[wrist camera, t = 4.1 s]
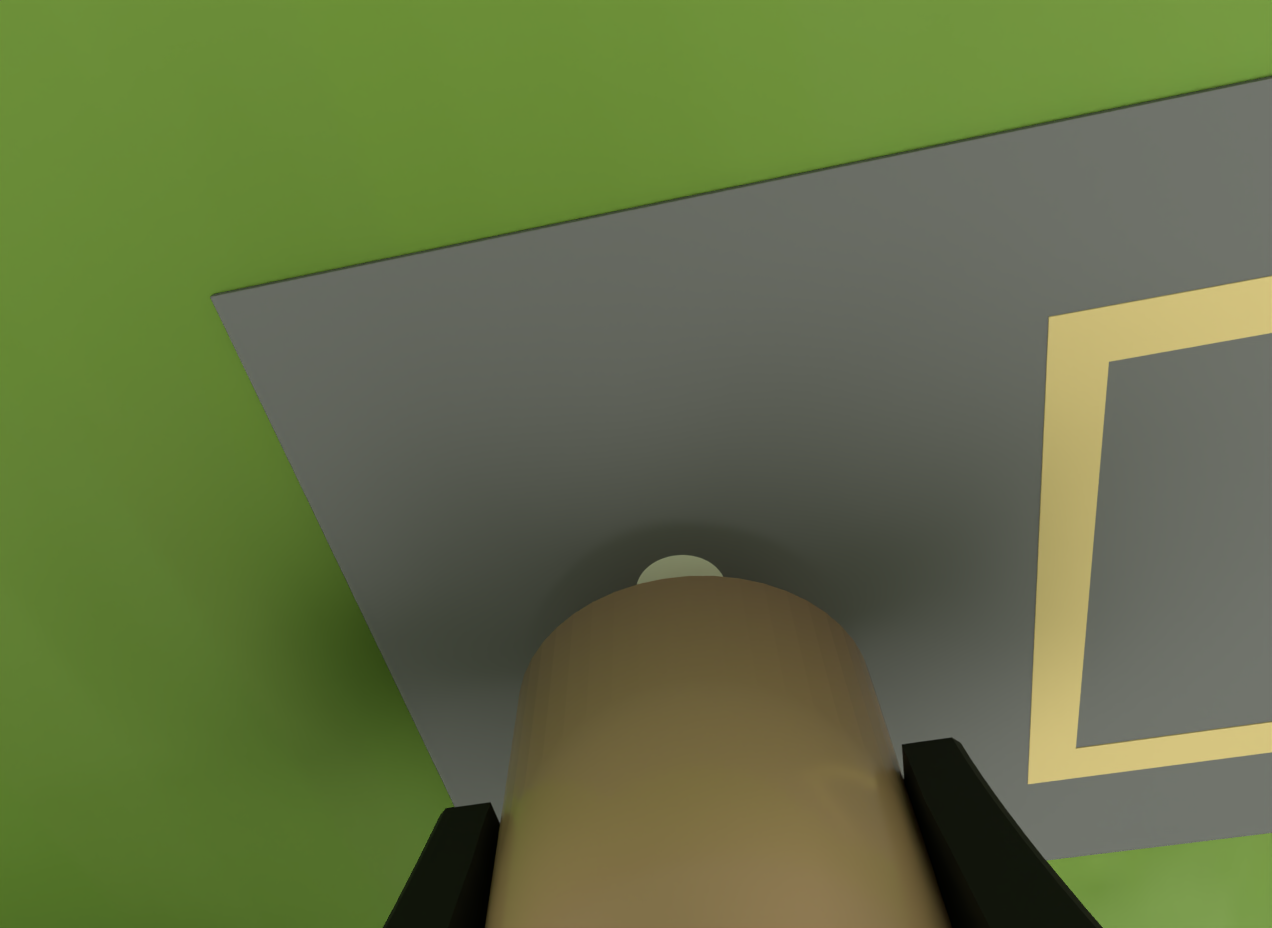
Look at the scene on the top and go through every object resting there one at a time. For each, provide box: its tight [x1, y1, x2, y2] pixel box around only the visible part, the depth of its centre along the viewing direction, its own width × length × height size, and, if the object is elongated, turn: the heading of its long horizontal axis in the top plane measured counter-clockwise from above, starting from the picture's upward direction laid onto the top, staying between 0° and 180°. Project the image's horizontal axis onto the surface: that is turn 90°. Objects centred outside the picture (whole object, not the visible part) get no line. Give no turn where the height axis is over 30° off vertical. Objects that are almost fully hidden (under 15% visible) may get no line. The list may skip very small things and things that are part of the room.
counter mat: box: [210, 76, 1272, 860], centre depth 14 cm, size 20×14×1 cm
